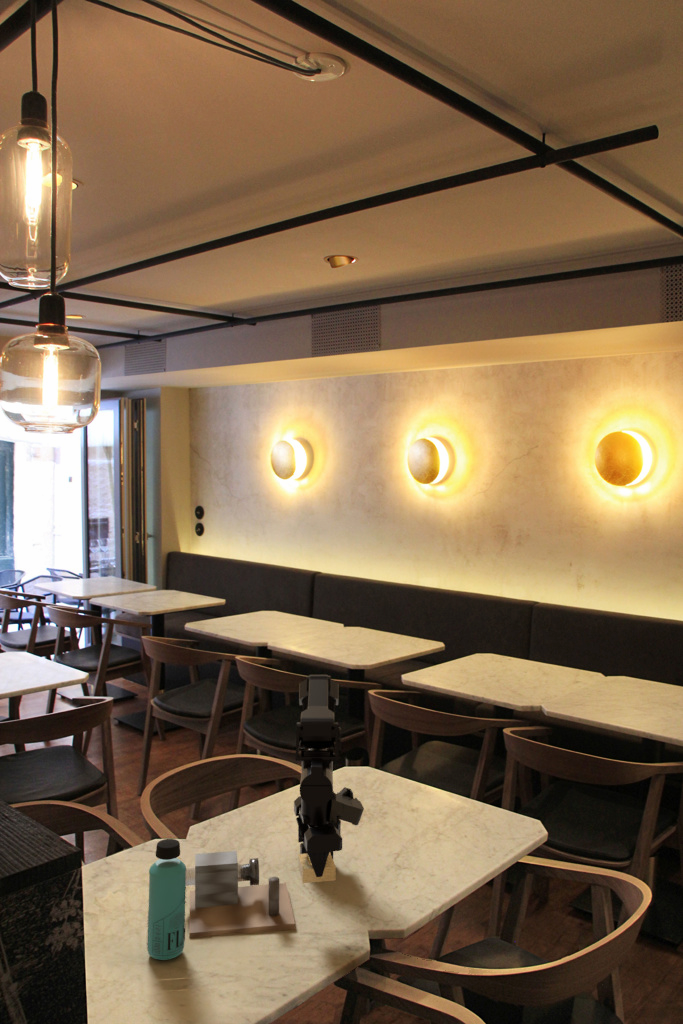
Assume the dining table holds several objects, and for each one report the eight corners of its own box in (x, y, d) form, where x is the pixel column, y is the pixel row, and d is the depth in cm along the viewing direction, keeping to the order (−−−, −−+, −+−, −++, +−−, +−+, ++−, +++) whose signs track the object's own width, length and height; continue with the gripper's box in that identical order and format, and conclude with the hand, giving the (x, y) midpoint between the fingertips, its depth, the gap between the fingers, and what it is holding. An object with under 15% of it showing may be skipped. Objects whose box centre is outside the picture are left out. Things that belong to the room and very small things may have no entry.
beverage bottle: (165, 974, 132) (169, 854, 131) (137, 960, 135) (140, 844, 135) (192, 955, 137) (196, 840, 137) (164, 943, 141) (168, 831, 140)
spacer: (329, 864, 150) (329, 851, 149) (335, 880, 144) (335, 866, 144) (298, 867, 148) (298, 854, 148) (302, 883, 143) (302, 869, 142)
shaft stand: (286, 888, 160) (286, 843, 160) (295, 929, 145) (295, 880, 145) (190, 896, 156) (190, 851, 156) (189, 939, 142) (189, 889, 141)
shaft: (257, 877, 157) (257, 853, 157) (259, 889, 152) (259, 865, 152) (182, 883, 154) (182, 859, 154) (181, 896, 150) (181, 871, 150)
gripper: (371, 801, 138) (370, 889, 138) (350, 764, 156) (349, 842, 157) (307, 805, 136) (307, 895, 136) (293, 767, 154) (293, 846, 155)
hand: (316, 868), depth 146 cm, fingers closed on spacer, 6 cm apart
